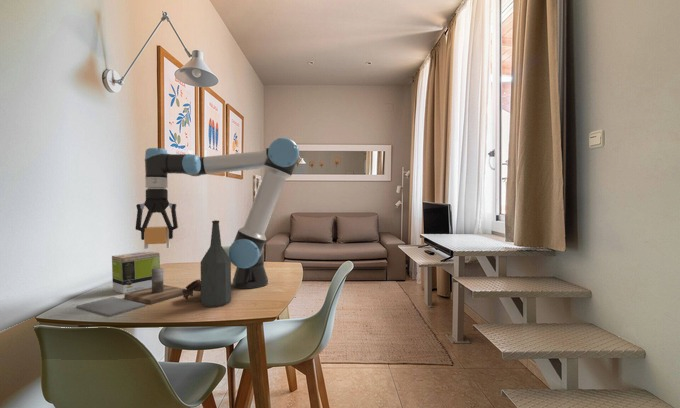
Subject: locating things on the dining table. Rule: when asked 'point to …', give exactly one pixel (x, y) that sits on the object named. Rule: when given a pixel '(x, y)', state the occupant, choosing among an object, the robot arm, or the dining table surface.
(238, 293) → the dining table surface
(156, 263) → the tea box
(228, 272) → the bottle
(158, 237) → the orange foam cube
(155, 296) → the post stand
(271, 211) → the robot arm
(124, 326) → the dining table surface
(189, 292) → the brown animal figurine
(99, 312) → the mat
